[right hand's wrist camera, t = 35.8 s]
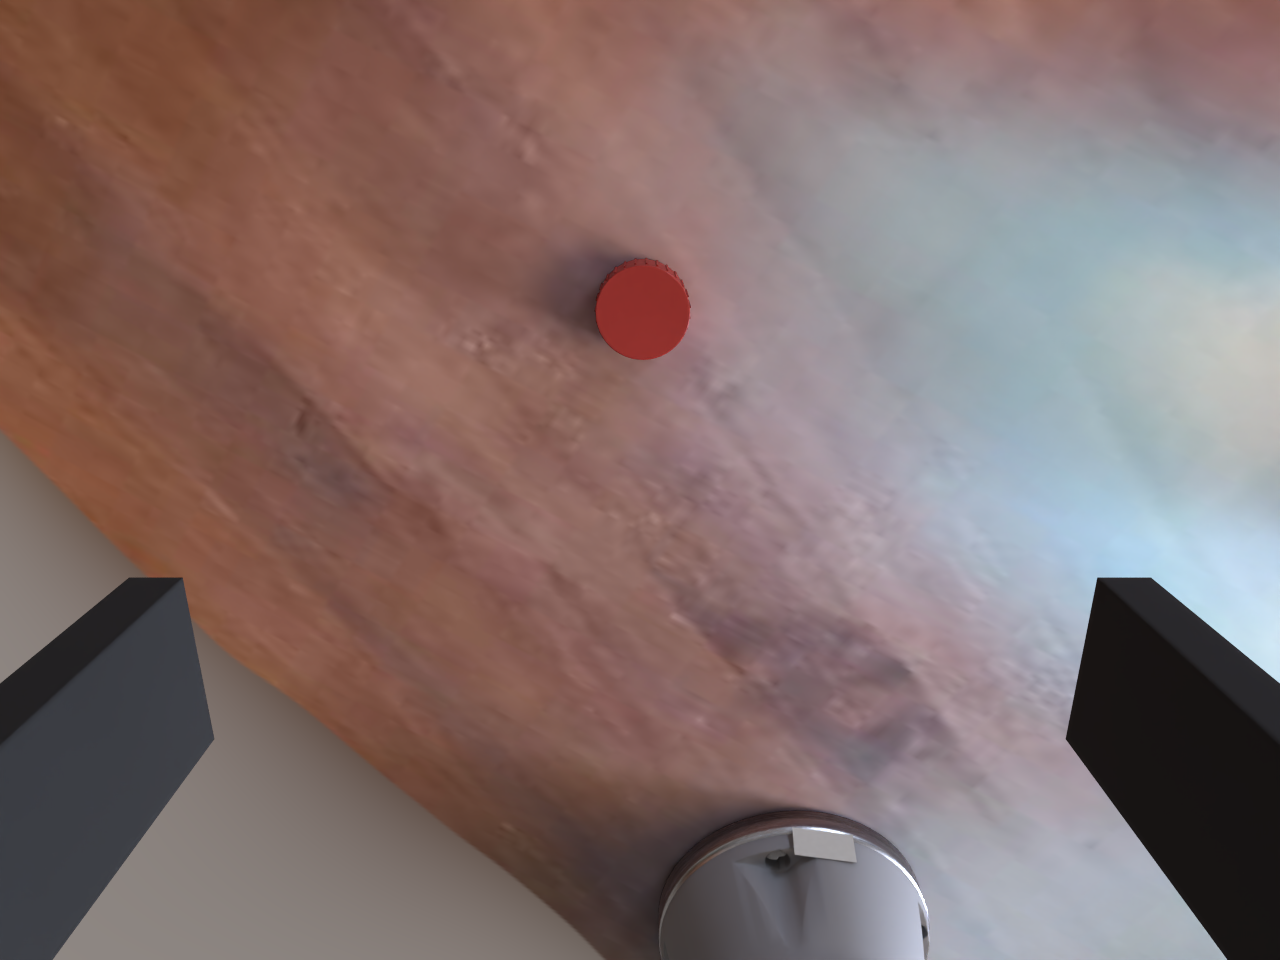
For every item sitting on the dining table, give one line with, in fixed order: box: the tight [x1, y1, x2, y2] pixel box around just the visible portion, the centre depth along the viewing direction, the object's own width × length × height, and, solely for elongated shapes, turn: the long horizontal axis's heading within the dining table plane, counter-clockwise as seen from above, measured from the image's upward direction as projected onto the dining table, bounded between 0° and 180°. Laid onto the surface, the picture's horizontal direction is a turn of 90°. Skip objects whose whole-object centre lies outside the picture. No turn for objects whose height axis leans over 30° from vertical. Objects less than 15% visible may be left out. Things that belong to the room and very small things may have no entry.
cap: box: [595, 258, 691, 360], centre depth 38 cm, size 4×4×2 cm
